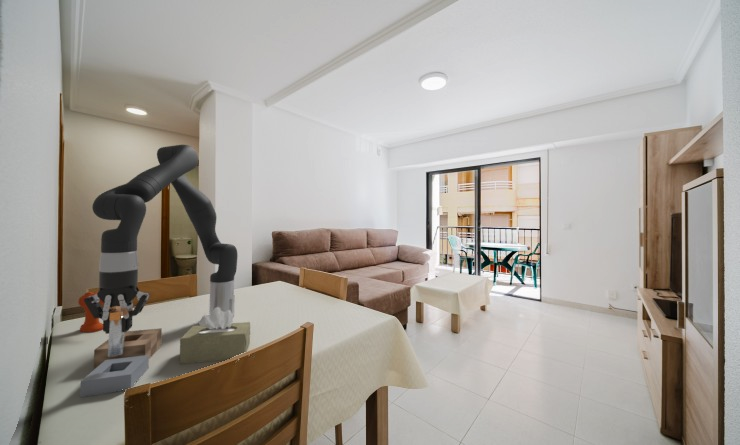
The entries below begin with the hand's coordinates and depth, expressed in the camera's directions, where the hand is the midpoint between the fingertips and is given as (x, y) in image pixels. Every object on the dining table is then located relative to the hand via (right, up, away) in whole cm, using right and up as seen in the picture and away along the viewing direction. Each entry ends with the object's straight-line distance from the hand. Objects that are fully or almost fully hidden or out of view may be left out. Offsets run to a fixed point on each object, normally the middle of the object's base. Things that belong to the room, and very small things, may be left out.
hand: (118, 331), depth 71 cm
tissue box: (+17, -14, +16) cm, 28 cm away
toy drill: (-34, -12, +30) cm, 48 cm away
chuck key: (0, -6, -1) cm, 6 cm away
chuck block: (-8, -13, +12) cm, 20 cm away
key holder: (0, -14, 0) cm, 14 cm away
